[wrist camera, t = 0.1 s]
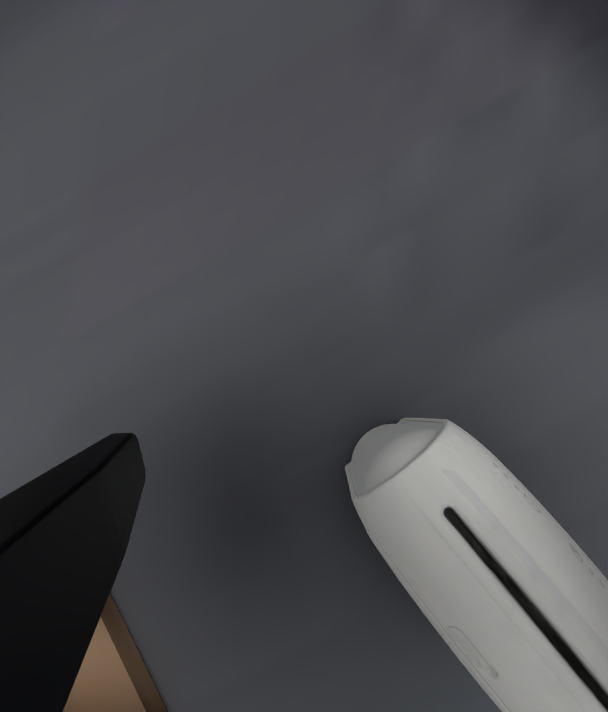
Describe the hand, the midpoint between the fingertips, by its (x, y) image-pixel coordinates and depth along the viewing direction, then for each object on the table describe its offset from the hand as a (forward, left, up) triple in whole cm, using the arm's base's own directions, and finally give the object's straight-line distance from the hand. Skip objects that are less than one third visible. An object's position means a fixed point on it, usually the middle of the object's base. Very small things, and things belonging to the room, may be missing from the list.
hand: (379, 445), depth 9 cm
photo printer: (-5, -1, -15) cm, 16 cm away
